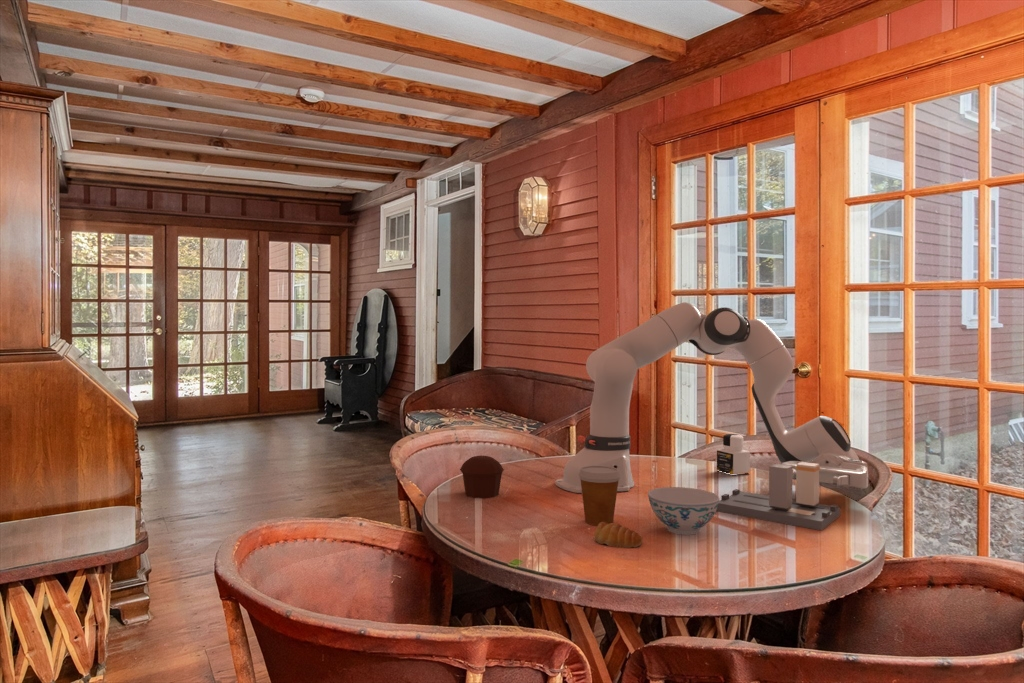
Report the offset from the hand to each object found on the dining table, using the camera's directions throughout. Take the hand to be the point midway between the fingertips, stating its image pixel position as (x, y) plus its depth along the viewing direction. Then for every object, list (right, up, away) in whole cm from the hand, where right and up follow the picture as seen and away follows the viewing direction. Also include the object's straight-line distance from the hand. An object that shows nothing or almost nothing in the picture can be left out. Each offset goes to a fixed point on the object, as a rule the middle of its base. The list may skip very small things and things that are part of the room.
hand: (814, 478), depth 157 cm
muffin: (-82, -7, +14) cm, 84 cm away
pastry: (-53, -8, -25) cm, 59 cm away
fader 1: (-11, -5, -7) cm, 14 cm away
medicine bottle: (-5, -8, +44) cm, 46 cm away
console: (-10, -8, -2) cm, 13 cm away
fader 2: (-4, -6, -4) cm, 8 cm away
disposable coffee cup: (-54, -8, -11) cm, 56 cm away
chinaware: (-37, -8, -17) cm, 41 cm away
